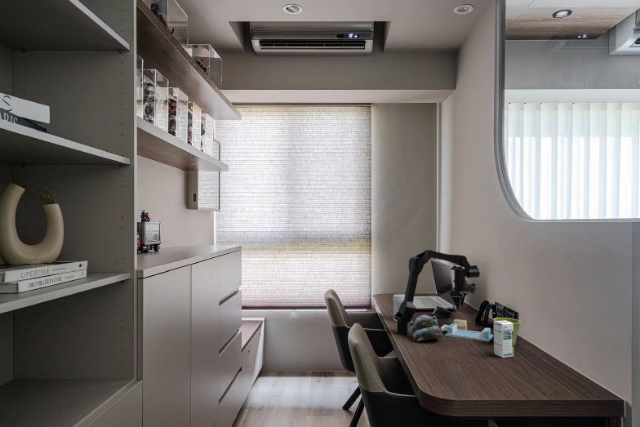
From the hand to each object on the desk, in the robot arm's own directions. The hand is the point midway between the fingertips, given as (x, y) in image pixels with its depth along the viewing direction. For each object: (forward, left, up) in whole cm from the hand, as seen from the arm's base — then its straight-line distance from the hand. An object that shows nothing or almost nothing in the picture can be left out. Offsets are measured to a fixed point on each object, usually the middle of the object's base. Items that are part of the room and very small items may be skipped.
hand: (460, 307), depth 226 cm
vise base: (-10, -7, -12) cm, 17 cm away
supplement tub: (+3, +34, -12) cm, 36 cm away
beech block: (0, 0, -12) cm, 12 cm away
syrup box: (-35, -26, -12) cm, 45 cm away
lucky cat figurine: (-30, +10, -12) cm, 33 cm away
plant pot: (-16, -25, -12) cm, 32 cm away
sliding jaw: (-10, +4, -11) cm, 15 cm away
